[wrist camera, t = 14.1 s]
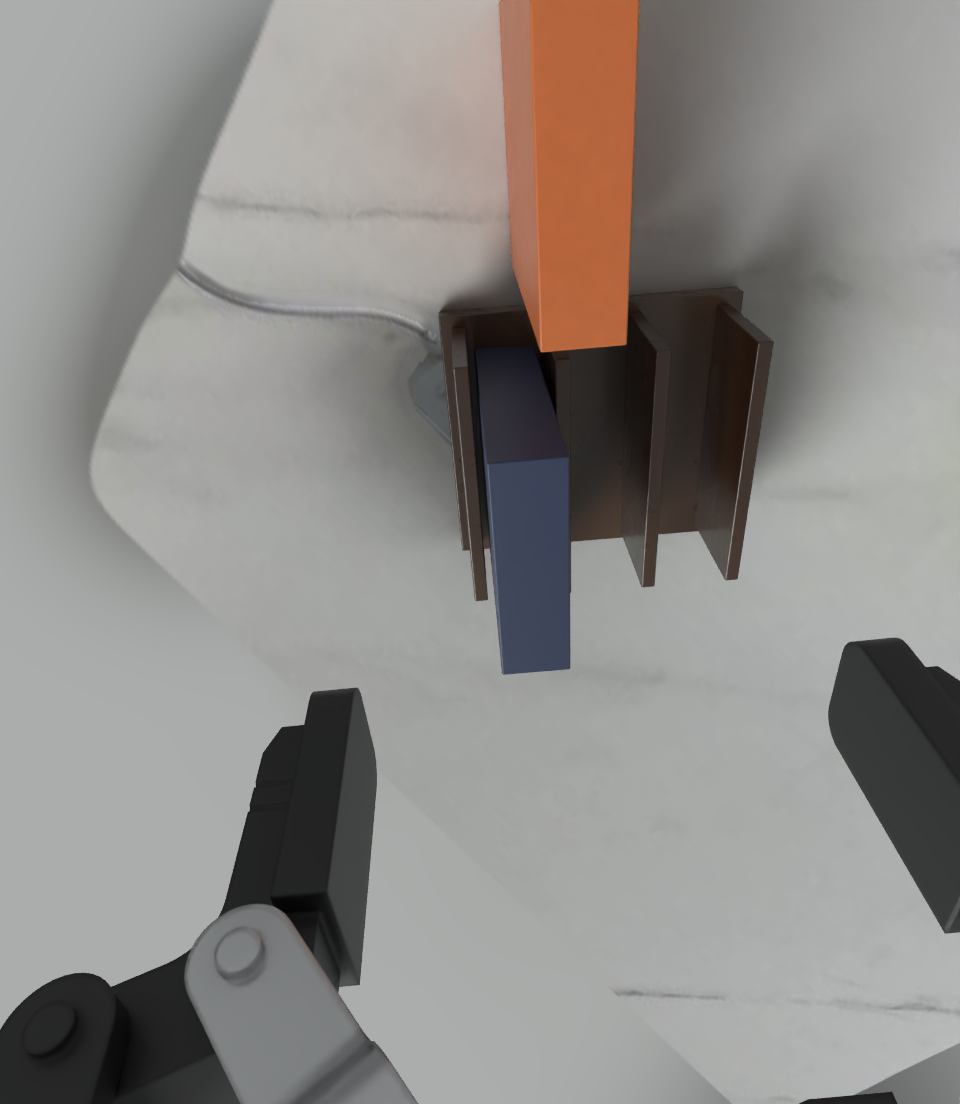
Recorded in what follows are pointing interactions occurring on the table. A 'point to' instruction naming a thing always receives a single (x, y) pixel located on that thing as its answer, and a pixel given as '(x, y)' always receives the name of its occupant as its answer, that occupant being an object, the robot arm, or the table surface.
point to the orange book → (571, 163)
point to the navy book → (525, 509)
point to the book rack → (630, 423)
